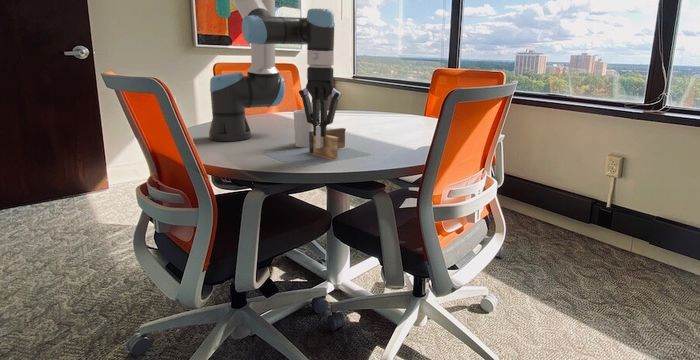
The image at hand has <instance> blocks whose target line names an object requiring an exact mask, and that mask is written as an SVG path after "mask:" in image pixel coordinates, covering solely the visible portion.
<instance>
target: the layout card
mask: <svg viewBox="0 0 700 360" xmlns="http://www.w3.org/2000/svg"><path fill="white" fill-rule="evenodd" d="M262 155H265V156H267V157H270V158H272V159H275V160H277V161H280V162H282V163H284V164H286V165H289V166H291V167H295V168H302V167H305V166H312V165H318V164H325V163H330V162H331V163H332V162H337V161H342V160H348V159H349V160H351V159H354V158H362V157H366V156H372V155H373V154H371V153H368V152H365V151H362V150H357V149H354V148H351V147H347V146H345V147H344V148H338V158H332V157H329V156H325V155H322V154H319V153H315V152H314V153H311V152H309V147H298V148H293V149H292V148H291V149H286V150H279V151H273V152H272V151H271V152H265V153H262Z"/></svg>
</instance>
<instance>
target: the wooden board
mask: <svg viewBox="0 0 700 360" xmlns="http://www.w3.org/2000/svg"><path fill="white" fill-rule="evenodd" d="M312 135H313V133H312ZM337 140H338V137H335V136H331V135H326V136H325V137H324V147H322V148H316V136H314V135H313V148H314V152H315V153H319V154H322V155H325V156H329V157H332V158H338V148H337Z"/></svg>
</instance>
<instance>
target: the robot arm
mask: <svg viewBox="0 0 700 360" xmlns="http://www.w3.org/2000/svg"><path fill="white" fill-rule="evenodd" d="M232 2H233V4H234V6H235V7H236V9H237V11H238V12H239V14H240V16H241V19H242V21H241V32H242V37H243V40H244V41H245V42H246V43H248V44H250V51H251V52H250V54H251V55H250V56H251V57H250V59H251V66H250V67H249V68H248V69H247V74H246V75H244V74H243V72H241V71H238V72H236V71H235V72H228V73H227V72H226V73H222V74H217V75H213V76H212V77H211V78H210V80H209V91H210V100H211V101H210V102H211V103H210V104H211V111H212V112H211V113H212V119H211V123H210V126H209V130H208V139H209V140H211V141H216V142H237V141H244V140H248V139H251V138H252V130H251V128H250V125H249V123H248V120H247V118H246V109H252V108H253V109H254V108H271V107H276V106H279V105H281V103H282V101H283V99H284V97H285V93H286V84H285V78H284V77H283V76H282V75H281V74H280V71H279V69H278V68H277V67H276V45H302V46H303V45H307V47H306V50H307V52H306V54H307V55H306V57H307V58H306V59H307V61H306V62H307V63H306V64H307V65H308V67H307V69H306V70H307V73H306V79H307V83H306V85H305V88H303V89H300V90H299V91H298V94H299V96H300V98H301V99H302V104H303V108H304V109H303V110H305V114H306V118H307V122H308V123H311V124H312V125H313V135H314V136H316V148H322V147H324V137H325V136H326V130H327V126H328V125H329V126H330V125H331V124H333V122H334V119H335V114H336V111H337V108H338V107H337V106H338V104H339V100H340V98H341V97H342V94H343V93H342V92H341V91H338V90H337V89H335V88H336V87H335V85H334V67H332V66H334V65H335V63H334V62H335V61H334V51H335V50H334V47H335V26H336V25H335V13H334V11H333V10H332V9H330V8H310V9H308V10H307V13H306V17H294V16H293V17H292V16H291V17H289V16H276V0H232ZM309 94H310V96H309ZM330 96H331V100H330V104H329V103H328V102H329V97H330ZM310 97H311V99H310ZM311 102H312V104H311ZM328 105H329V108H328ZM312 111H313V112H312Z"/></svg>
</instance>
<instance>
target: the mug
mask: <svg viewBox="0 0 700 360" xmlns="http://www.w3.org/2000/svg"><path fill="white" fill-rule="evenodd" d="M312 112H313V110H312ZM293 126H294V143H295V147H297V148H306V147H309V132H311V131H313V125H312V124H311V123H308V122H307V118H306V114H305V109H298V110H294V111H293Z"/></svg>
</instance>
